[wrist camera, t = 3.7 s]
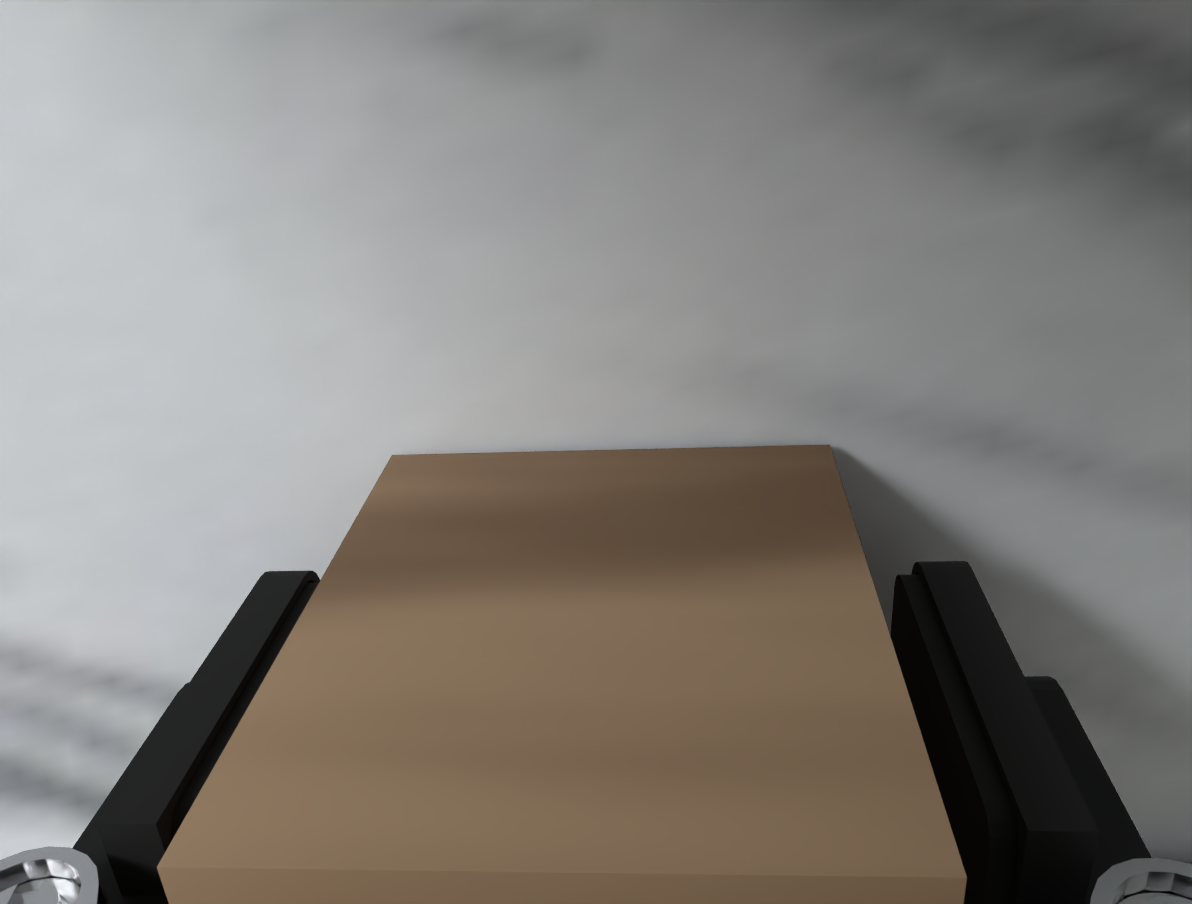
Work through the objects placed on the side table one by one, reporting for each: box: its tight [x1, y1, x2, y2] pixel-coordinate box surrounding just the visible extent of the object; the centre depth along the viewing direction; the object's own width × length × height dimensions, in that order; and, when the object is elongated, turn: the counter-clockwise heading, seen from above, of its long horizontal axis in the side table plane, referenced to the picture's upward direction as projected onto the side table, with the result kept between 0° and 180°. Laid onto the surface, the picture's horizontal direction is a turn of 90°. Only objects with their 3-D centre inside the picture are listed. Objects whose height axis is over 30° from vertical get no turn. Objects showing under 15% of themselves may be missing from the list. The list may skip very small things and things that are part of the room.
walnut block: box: [157, 445, 967, 904], centre depth 10 cm, size 5×5×6 cm
